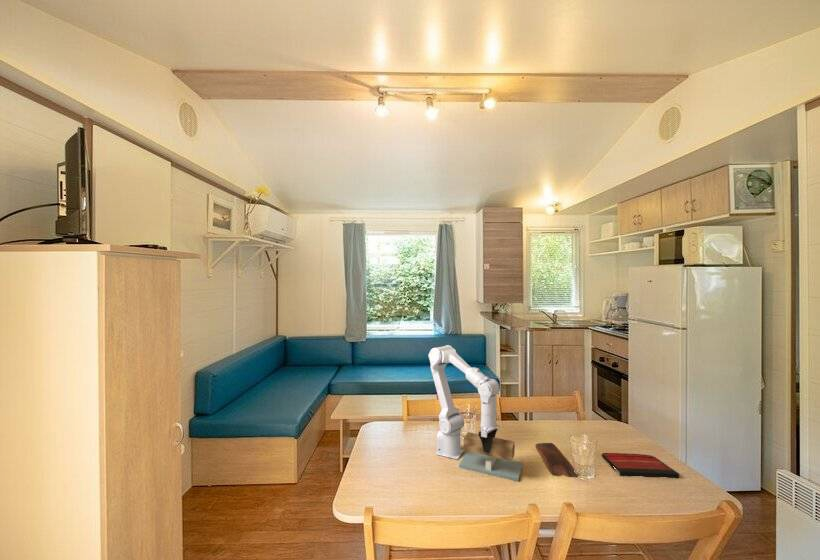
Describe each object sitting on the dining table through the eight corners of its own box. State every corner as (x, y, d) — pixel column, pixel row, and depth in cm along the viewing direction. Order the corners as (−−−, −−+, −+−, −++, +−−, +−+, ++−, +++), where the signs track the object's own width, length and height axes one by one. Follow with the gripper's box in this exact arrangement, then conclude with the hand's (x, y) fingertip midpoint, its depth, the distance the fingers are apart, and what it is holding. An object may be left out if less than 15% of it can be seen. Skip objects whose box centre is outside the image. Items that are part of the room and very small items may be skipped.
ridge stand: (459, 467, 136) (459, 457, 136) (467, 453, 147) (467, 443, 147) (518, 481, 127) (518, 470, 126) (522, 465, 137) (523, 455, 137)
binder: (679, 473, 129) (619, 471, 130) (679, 479, 129) (619, 477, 130) (652, 453, 145) (599, 451, 146) (652, 459, 145) (599, 457, 146)
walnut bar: (463, 450, 135) (463, 437, 135) (467, 444, 140) (467, 432, 140) (512, 461, 127) (512, 447, 127) (514, 454, 132) (514, 441, 132)
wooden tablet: (532, 440, 157) (555, 438, 156) (533, 445, 157) (556, 443, 156) (551, 474, 130) (579, 472, 129) (551, 480, 130) (579, 478, 129)
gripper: (495, 421, 125) (494, 459, 125) (503, 408, 138) (503, 442, 138) (475, 418, 128) (475, 455, 128) (485, 405, 141) (485, 439, 141)
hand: (488, 448), depth 134 cm, fingers closed on walnut bar, 5 cm apart
